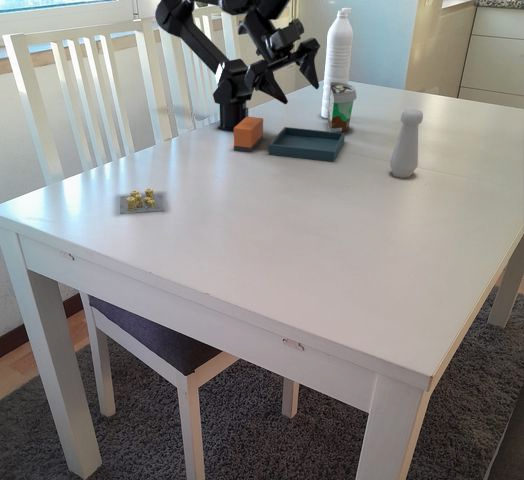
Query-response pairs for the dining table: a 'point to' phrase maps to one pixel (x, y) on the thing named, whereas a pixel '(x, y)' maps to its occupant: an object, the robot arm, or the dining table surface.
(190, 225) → the dining table surface
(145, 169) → the dining table surface
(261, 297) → the dining table surface
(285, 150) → the dark teal tray
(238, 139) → the eraser
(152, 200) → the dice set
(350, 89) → the food container
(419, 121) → the salt shaker
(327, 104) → the water bottle
